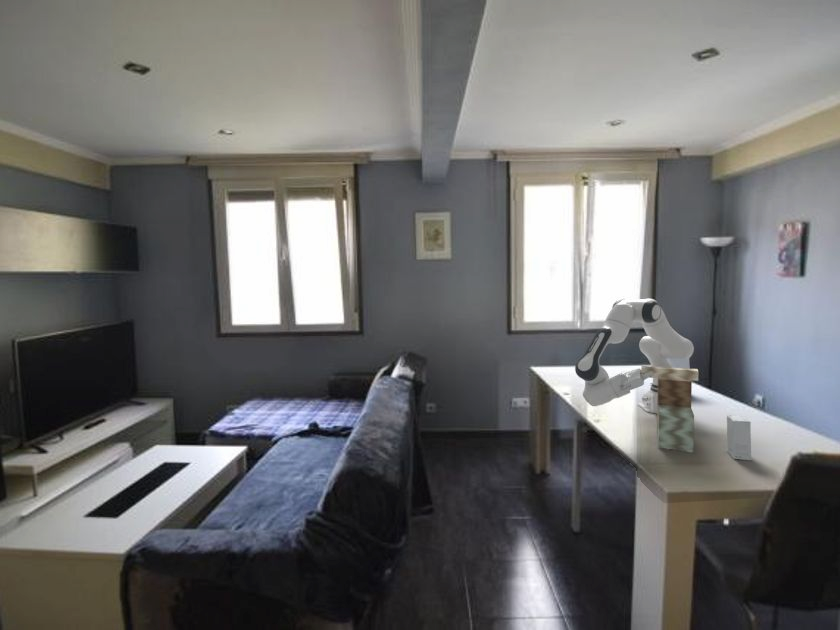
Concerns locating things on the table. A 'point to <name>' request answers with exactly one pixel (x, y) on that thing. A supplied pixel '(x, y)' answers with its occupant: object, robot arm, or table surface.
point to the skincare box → (739, 437)
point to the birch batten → (671, 373)
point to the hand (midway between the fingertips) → (653, 371)
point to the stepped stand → (675, 415)
